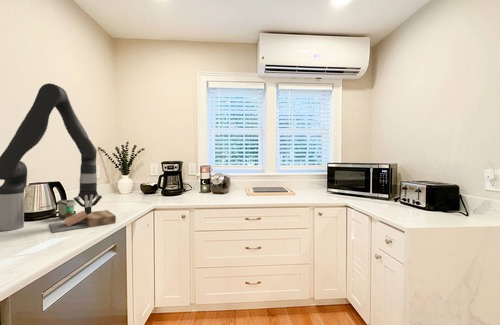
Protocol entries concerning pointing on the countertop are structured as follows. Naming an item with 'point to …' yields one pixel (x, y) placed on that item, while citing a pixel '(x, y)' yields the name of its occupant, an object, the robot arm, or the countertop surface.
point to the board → (99, 218)
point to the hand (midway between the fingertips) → (87, 213)
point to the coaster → (75, 218)
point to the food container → (65, 208)
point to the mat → (63, 227)
